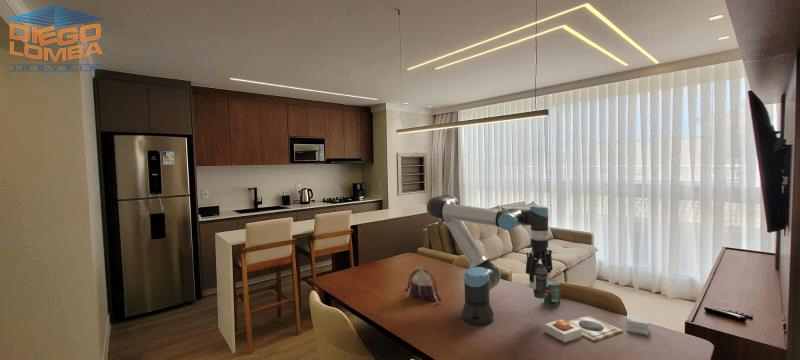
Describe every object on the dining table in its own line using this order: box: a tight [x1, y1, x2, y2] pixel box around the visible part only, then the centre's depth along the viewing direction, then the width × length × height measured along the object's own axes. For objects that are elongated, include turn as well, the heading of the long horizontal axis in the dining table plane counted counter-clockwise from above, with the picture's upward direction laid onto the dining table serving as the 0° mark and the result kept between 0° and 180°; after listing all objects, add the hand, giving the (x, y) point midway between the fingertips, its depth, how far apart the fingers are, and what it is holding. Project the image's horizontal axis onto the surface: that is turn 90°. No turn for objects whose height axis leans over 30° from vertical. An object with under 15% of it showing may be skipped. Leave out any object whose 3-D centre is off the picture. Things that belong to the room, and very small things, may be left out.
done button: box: [555, 319, 570, 331], centre depth 142 cm, size 6×6×2 cm
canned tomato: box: [543, 279, 561, 306], centre depth 175 cm, size 8×8×11 cm
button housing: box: [544, 318, 582, 343], centre depth 142 cm, size 10×10×4 cm
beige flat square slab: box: [566, 314, 623, 343], centre depth 146 cm, size 18×16×1 cm
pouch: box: [404, 265, 442, 303], centre depth 186 cm, size 25×8×19 cm, turn 58°
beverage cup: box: [532, 260, 548, 300], centre depth 155 cm, size 7×7×20 cm
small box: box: [626, 313, 650, 336], centre depth 144 cm, size 8×8×5 cm
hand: (539, 287), depth 156 cm, fingers closed on beverage cup, 7 cm apart
